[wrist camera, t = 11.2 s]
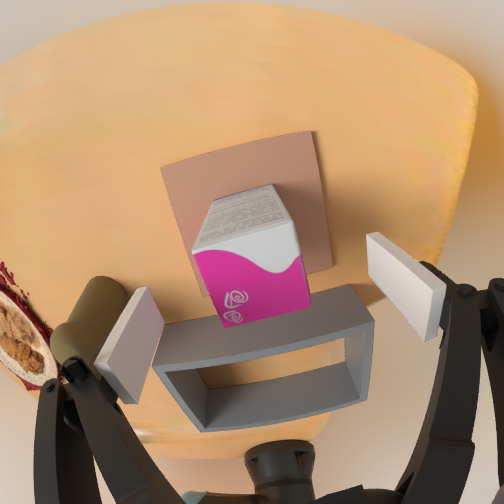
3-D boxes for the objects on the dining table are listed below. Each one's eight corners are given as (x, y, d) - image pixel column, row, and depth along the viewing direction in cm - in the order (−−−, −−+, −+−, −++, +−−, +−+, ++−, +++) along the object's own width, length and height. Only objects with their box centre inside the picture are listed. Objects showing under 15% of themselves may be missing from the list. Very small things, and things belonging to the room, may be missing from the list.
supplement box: (210, 200, 24) (188, 248, 14) (272, 182, 24) (299, 216, 13) (229, 256, 27) (223, 332, 16) (287, 239, 26) (318, 307, 16)
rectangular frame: (351, 363, 35) (366, 400, 28) (204, 394, 36) (200, 432, 29) (349, 283, 29) (374, 320, 23) (165, 324, 30) (151, 366, 24)
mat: (331, 264, 28) (332, 267, 28) (204, 294, 29) (203, 297, 28) (309, 130, 23) (310, 130, 22) (161, 167, 23) (160, 167, 23)
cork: (106, 267, 27) (57, 325, 17) (139, 306, 29) (106, 374, 19) (78, 289, 28) (33, 345, 18) (109, 325, 30) (75, 387, 20)
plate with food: (31, 384, 38) (25, 395, 35) (-39, 286, 28) (-48, 295, 24) (98, 379, 37) (92, 395, 33) (6, 244, 26) (-8, 255, 23)
